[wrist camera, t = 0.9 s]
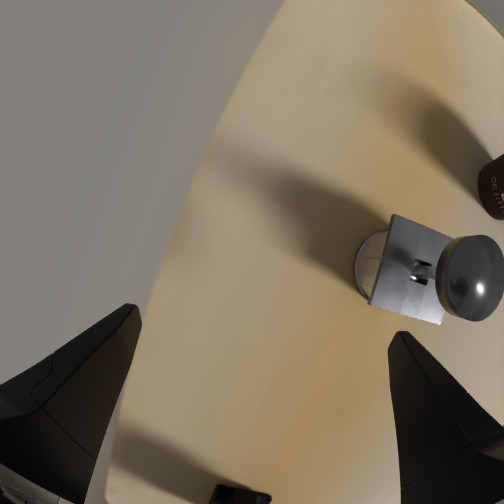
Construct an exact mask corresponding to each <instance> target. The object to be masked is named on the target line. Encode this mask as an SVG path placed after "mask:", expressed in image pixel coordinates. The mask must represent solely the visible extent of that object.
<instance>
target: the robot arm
mask: <svg viewBox="0 0 504 504" xmlns="http://www.w3.org/2000/svg"><path fill="white" fill-rule="evenodd" d="M141 328H142V321H141V316H140V312H139V308H138V306H137V305H135V304H129V303H126V304H124V305H123V306H121V307H120V308H118V309H117V310H115V311H114V312H112V313H111V314H109V315H108V316H106V317H105V318H103V319H102V320H100V321H99V322H97V323H96V324H94V325H93V326H91V327H90V328H88V329H87V330H86V331H84V332H82V333H81V334H79V335H78V336H77V337H75V338H74V339H72V340H71V341H69V342H68V343H66V344H65V345H64V346H62V347H61V348H59V349H58V350H56V351H55V352H54V354H53V353H52V354H50V355H49V356H48V357H46V358H45V359H43V360H42V361H40V362H39V363H37V364H36V365H34V366H32V367H31V368H29V369H28V370H26V371H24V372H22V373H21V374H19V375H17V376H15V377H13V378H12V379H10V380H8V381H7V382H5V383H3V384H1V385H0V504H58V501H59V498H60V497H61V498H63V499H65V500H68V501H70V502H72V503H74V504H84V501H85V498H86V494H87V491H88V487H89V484H90V480H91V477H92V474H93V471H94V467H95V464H96V460H97V457H98V454H99V451H100V448H101V445H102V442H103V439H104V436H105V433H106V430H107V427H108V424H109V422H110V419H111V416H112V413H113V411H114V408H115V405H116V402H117V399H118V397H119V394H120V392H121V389H122V387H123V384H124V381H125V379H126V376H127V374H128V371H129V369H130V366H131V363H132V360H133V356H134V352H135V349H136V345H137V342H138V338H139V335H140V331H141ZM388 363H389V378H390V391H391V398H392V404H393V411H394V419H395V427H396V435H397V445H398V456H399V468H400V486H401V504H504V428H503V427H502V426H501V425H500V424H499V423H498V422H497V421H496V420H495V419H494V418H493V417H492V416H491V415H490V414H489V413H487V412H486V411H485V410H484V409H483V408H482V407H481V406H480V405H479V404H478V403H477V402H476V401H475V399H474V398H473V397H472V396H471V395H470V394H469V393H467V391H466V390H465V389H464V388H463V387H462V386H461V385H460V383H459V382H458V381H457V380H456V379H455V378H454V377H453V376H452V375H451V374H450V373H449V372H448V371H447V370H446V369H445V368H444V367H443V366H442V365H441V364H440V363H439V362H438V361H437V360H436V359H435V358H434V357H433V356H432V355H431V354H430V353H429V352H428V351H427V350H426V349H425V348H424V347H423V346H422V345H421V344H420V343H419V342H418V341H417V340H416V339H415V338H414V337H413V336H412V335H411V334H410V333H409V332H408V331H398V332H396V334H395V336H394V338H393V339H392V341H391V343H390V345H389V347H388ZM271 501H272V497H271V496H270V495H264V494H259V493H253V492H248V491H244V490H239V489H235V488H230V487H226V486H222V485H217V486H216V488H215V490H214V493H213V495H212V497H211V500H210V502H209V504H270V502H271Z"/></svg>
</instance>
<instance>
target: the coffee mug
mask: <svg viewBox="0 0 504 504" xmlns="http://www.w3.org/2000/svg"><path fill="white" fill-rule="evenodd" d="M478 190H479V195H480V198H481V201H482V204H483V206H484V208H485V210H486V211H487V212H488V214H489V215H490V216H491V217H493V218H494V219H497V220H504V154H503V155H501V156H500V157H498V158H497V159H495V160H493V161H492V162H490V163H489V164H487V165H486V166H484V167H483V168H482V170H481V171H480V174H479V178H478Z"/></svg>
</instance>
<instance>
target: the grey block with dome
mask: <svg viewBox="0 0 504 504" xmlns="http://www.w3.org/2000/svg"><path fill="white" fill-rule="evenodd" d="M452 240H454V239H453V238H451V237H449V236H446V235H444V234H442V233H440V232H437V231H435V230H433V229H430V228H428V227H426V226H423V225H421V224H419V223H416V222H414V221H411V220H409V219H406V218H404V217H401V216H399V215H396V214H393V215H391V220H390V224H389V229H388V230H383V231H379V232H376V233H374V234H372V235H371V236H369V237H368V238H367V239H366V240H365V241H364V242H363V243H362V245H361V246H360V248H359V249H358V252H357V254H356V257H355V261H354V278H355V282H356V285H357V287H358V289H359V291H360V293H361V294H362V295H363V296H364V297H365V298H366V299H367V300H368V304H369V305H371V306H375V307H378V308H382V309H385V310H389V311H392V312H396V313H400V314H403V315H407V316H410V317H414V318H418V319H421V320H425V321H429V322H432V323H436V324H441V321H442V318H443V315H444V312H445V309H444V308H443V307H442V306H441V304H440V302H439V300H438V297H437V293H436V288H435V281H434V280H427V279H424V282H423V284H420V283H417V282H414V281H411V280H410V277H411V273H412V269H413V265H414V261H415V259H416V260H419V261H421V262H424V263H427V264H428V266H434V267H437V263H438V260H439V257H440V255H441V253H442V251H443V250H444V248H445V247H446V246H447V245H448V244H449V243H450V242H451V241H452Z"/></svg>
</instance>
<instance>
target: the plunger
mask: <svg viewBox="0 0 504 504" xmlns="http://www.w3.org/2000/svg"><path fill="white" fill-rule="evenodd" d="M424 279H427V280H434V281H435V288H436V293H437V297H438V300H439V302H440V304H441V306H442V307H443V308H444V309H445V310H446V311H447V312H448V313H449V314H451V315H454V316H457V317H460V318H463V319H466V320H469V321H481V320H484V319H485V318H487V317H488V316H490V315H491V314H492V313H493V312H494V310H495V309H496V308H497V306H498V304H499V302H500V300H501V298H502V295H503V292H504V257H503V254H502V251H501V249H500V247H499V246H498V244H497V243H496V242H495V241H494V240H493V239H492V238H490V237H488V236H485V235H474V236H464V237H458V238H456V239H454V240H452V241H451V242H450V243H449V244H448V245H447V246H446V247H445V248H444V250H443V251H442V253H441V255H440V257H439V260H438V263H437V267H434V266H428V264H427V263H424V262H421V261H419V260H416V259H415V261H414V265H413V269H412V273H411V277H410V280H411V281H414V282H417V283H420V284H423V282H424Z"/></svg>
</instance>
